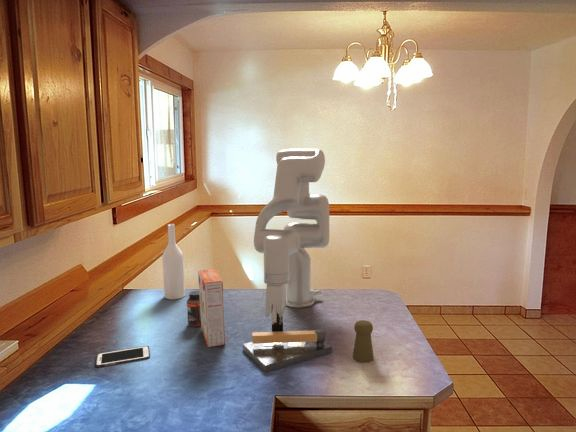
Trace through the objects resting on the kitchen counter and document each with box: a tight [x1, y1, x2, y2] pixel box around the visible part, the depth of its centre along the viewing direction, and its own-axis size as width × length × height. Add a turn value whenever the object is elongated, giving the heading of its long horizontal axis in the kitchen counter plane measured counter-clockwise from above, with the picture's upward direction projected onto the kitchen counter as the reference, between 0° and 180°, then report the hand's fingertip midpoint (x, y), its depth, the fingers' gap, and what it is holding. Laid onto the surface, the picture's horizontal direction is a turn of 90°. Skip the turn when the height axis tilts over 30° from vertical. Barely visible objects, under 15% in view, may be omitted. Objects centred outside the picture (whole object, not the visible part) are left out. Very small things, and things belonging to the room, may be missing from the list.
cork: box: [352, 319, 375, 364], centre depth 124 cm, size 6×6×11 cm
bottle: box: [161, 223, 186, 300], centre depth 175 cm, size 8×8×30 cm
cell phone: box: [94, 345, 151, 368], centre depth 127 cm, size 8×15×1 cm, turn 110°
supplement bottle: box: [186, 290, 201, 328], centre depth 149 cm, size 6×6×11 cm
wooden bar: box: [251, 328, 327, 344], centre depth 128 cm, size 22×3×3 cm, turn 93°
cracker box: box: [197, 268, 226, 348], centre depth 137 cm, size 14×6×21 cm, turn 19°
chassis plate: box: [242, 328, 333, 373], centre depth 129 cm, size 22×15×4 cm
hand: (277, 335), depth 131 cm, fingers closed
